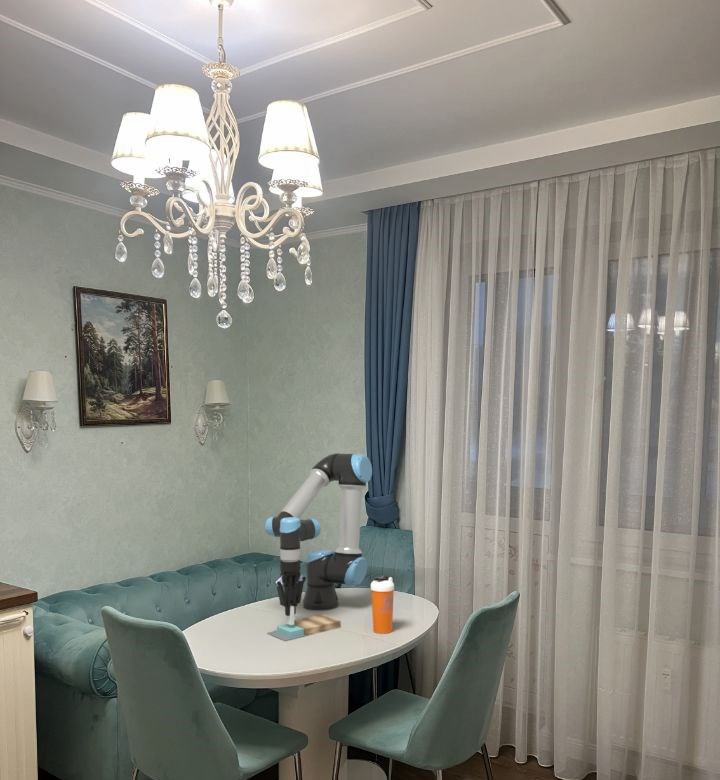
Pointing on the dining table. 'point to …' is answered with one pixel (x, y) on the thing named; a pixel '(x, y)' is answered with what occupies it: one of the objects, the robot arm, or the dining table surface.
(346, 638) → the dining table surface
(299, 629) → the turquoise rectangular block
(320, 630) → the tan wooden board
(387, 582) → the shaker bottle
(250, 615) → the dining table surface
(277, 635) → the mat
